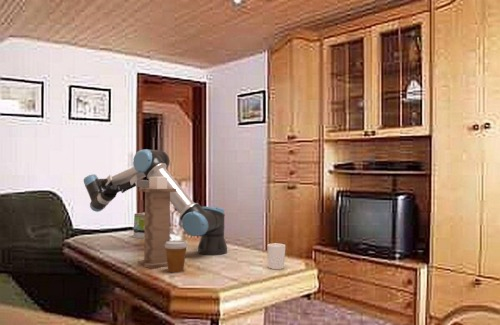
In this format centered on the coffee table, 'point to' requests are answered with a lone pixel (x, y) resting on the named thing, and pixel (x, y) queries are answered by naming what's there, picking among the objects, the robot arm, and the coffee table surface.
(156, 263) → the walnut stand
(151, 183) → the block
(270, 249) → the white cup
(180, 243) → the disposable coffee cup
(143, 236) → the tea box
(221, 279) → the coffee table surface
